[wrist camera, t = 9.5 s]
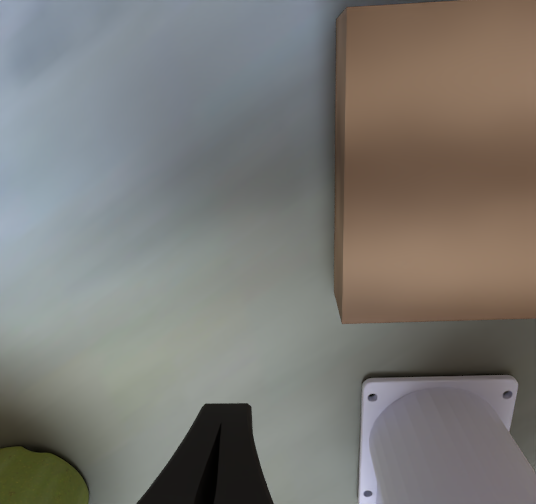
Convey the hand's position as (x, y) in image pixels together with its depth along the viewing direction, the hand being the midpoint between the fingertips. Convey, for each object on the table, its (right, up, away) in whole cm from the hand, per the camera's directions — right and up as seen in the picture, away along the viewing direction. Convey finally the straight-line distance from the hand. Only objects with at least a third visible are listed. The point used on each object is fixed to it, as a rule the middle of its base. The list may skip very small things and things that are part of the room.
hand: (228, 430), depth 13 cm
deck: (+11, +9, +6) cm, 15 cm away
